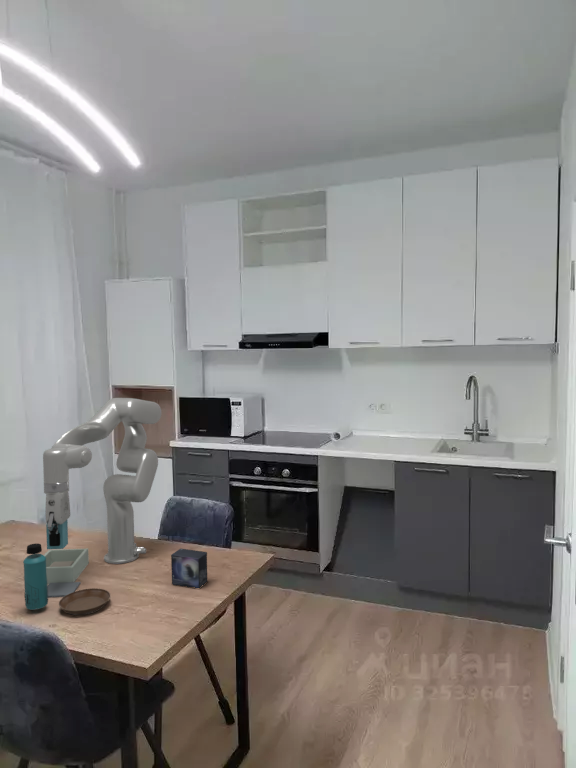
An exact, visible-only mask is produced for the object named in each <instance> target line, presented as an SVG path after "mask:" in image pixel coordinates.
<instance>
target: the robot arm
mask: <svg viewBox="0 0 576 768" xmlns="http://www.w3.org/2000/svg"><path fill="white" fill-rule="evenodd" d="M162 412H163V411H162V408H161V406H160V405H159V403H157V402H155V401H150V400H144V399H139V398H132V397H114V398H113V397H112V398H110V399H109V400H107V401H106V402H105V403H104V404H103V406H102V407H100V409H99V410H98V411H97V412H96V413H95V414H94V415H93V416H92V417H91V418H90V419H89V420H87V421H86V422H83V423H81V424H80V425H77V426H75V427H74V428H72V429H70V430H68V431H66V432H65V433H64V434H61V436H60V437H59V438H58V439H57V441H55V442H54V443H53V445H52V446H51V447H50V448H48V449H45V450H44V451H43V454H42V463H43V464H42V465H43V466H42V467H43V471H42V472H43V494H45V525H46V524H47V525H48V526H47V528H48V529H49V545H50V546H60V533H59V524H60V525H61V524H63V523H64V522H65V521H66V520H67V521H68V519H70V517H71V505H70V503H71V502H70V493H69V492H70V469H71V470H72V469H80V468H84V467H86V466H88V465H89V464H90V462H91V461H92V458H93V453H92V451H91V449H90V448H89V447H88V446H85V445H87V444H92V443H95V442H98V441H101V440H104V439H106V438H108V437H109V436H110V435H111V433H112V432H113V431H114V430H115V429H116V427H118V425H120V423H121V422H122V424H123V427H124V437H123V441H122V443H121V447H120V450H119V452H118V455H117V458H116V463H115V464H116V468H117V470H119V471H120V472H124V473H131V474H135V475H131V474H130V475H129V474H123V473H122V474H118V473H116V474H111V475H110V476H108V477H106V479H105V480H104V481H103V482H104V483H103V487H102V489H103V495H104V499H105V500H104V501H105V506H106V521H107V522H106V523H107V524H106V525H107V526H106V527H107V528H106V529H107V553H106V554H104V556H103V561H104V562H106V563H107V564H114V565H117V564H118V565H121V564H127V563H130V562H133V561H136V560H137V559H138V558H139V557H140V554H146V553H147V547H144V546H137V542H135V524H134V523H135V519H134V517H135V515H134V512H135V511H134V507H133V505H132V503H143V502H144V501H146V500H147V498H149V496H150V495H149V494H150V492H151V491H152V486H153V483H154V480H155V477H156V473H157V471H158V465H159V457H158V454H157V453H156V451H155V450H154V449H152V448H151V449H150V448H146V445H147V444H146V443H147V441H148V436H147V432H146V430H145V428H144V426H143V425H144V424H145V425H154V424H157V423H159V421H160V420H161V418H162ZM54 522H56V523H57V524H53V523H54ZM54 526H56V528H55V527H54Z"/></svg>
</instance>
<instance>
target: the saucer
mask: <svg viewBox="0 0 576 768" xmlns="http://www.w3.org/2000/svg"><path fill="white" fill-rule="evenodd" d="M110 598H111V593H110V591H108V590H107V589H104V588H98V587H97V588H95V587H94V588H85V589H79V590H76V591H75V592H72V593H70V594H68V595H66V596H64V597H61V599H60V600H59V601H58V606H59V608H61V610H62V611H64V612H65V613H66V614H69V615H73V616H85V615H89V614H92V613H95V612H98V611H99V610H101V609H103V607H104V606H105V605H106V604H107V603H108V602H109V600H110Z"/></svg>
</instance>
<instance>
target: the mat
mask: <svg viewBox="0 0 576 768" xmlns="http://www.w3.org/2000/svg"><path fill="white" fill-rule="evenodd" d="M81 583H82V582H81V581H75V582H64V583H50V584H47V587H48V588H47V591H48V599H49V598H63V597H64V596H66V595H68V594H70V593H72V592H75V591H77V589H79V587H80V585H81Z"/></svg>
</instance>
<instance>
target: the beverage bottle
mask: <svg viewBox="0 0 576 768" xmlns="http://www.w3.org/2000/svg"><path fill="white" fill-rule="evenodd" d="M42 550H43V549H42V544H41V543H36V542H35V543H31V544H28V545H27V546H26V554H28V555H27V556H26V557H25V559H23V560H22V561H23V582H24V584H23V585H24V592H23V593H24V595H23V596H24V606H25V608H26V609H27V610H31V611H32V610H39V609H42V608H44V607H46V606H47V605H48V603H49V598H48V591H47V588H48V587H47V586H48V585H49V584H48V583H47V582H48V581H47V580H48V579H47V573H46V557H45V556H44V554H42V553H41V552H42Z"/></svg>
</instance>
